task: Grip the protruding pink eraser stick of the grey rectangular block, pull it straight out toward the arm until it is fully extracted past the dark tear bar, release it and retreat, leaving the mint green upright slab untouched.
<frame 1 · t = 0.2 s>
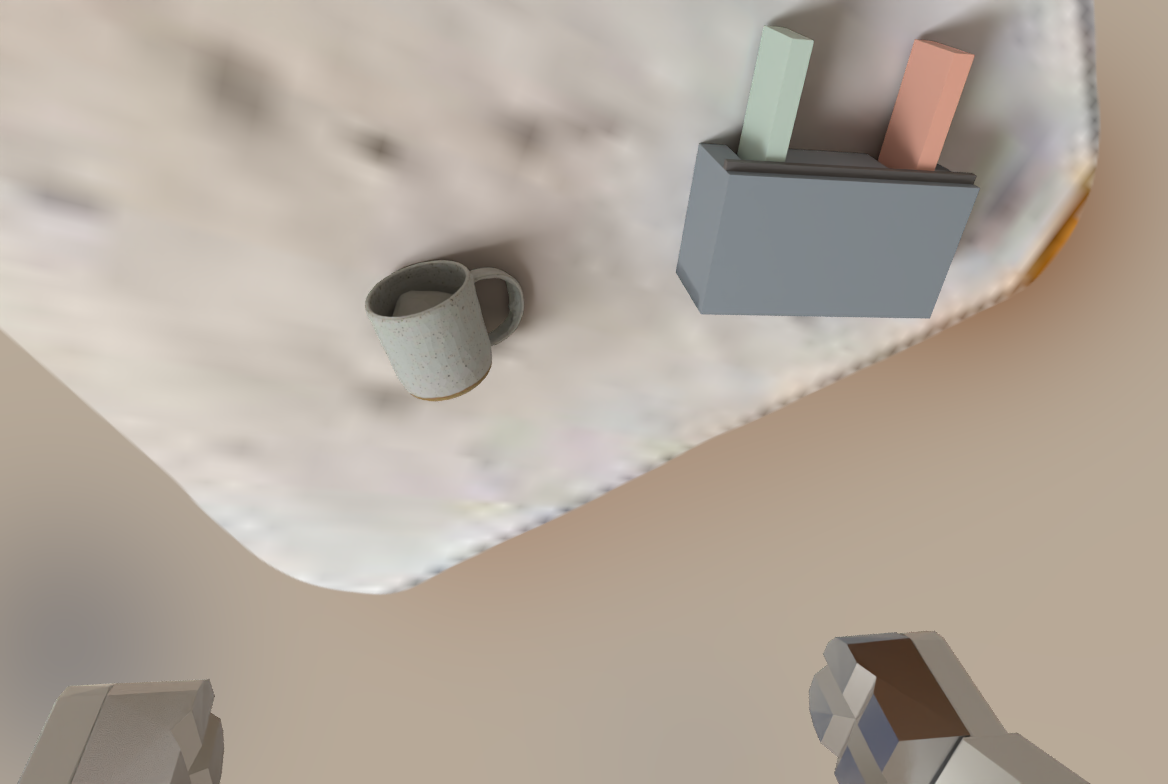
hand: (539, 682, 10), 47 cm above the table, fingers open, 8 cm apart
mint green upright slab: (763, 144, 53), point 3 cm above the table, slide at 0.0 cm
grey rectangular block: (799, 215, 60), on the table
pink eraser stick: (908, 153, 55), point 3 cm above the table, slide at 0.0 cm
ceramic mug: (450, 300, 59), on the table
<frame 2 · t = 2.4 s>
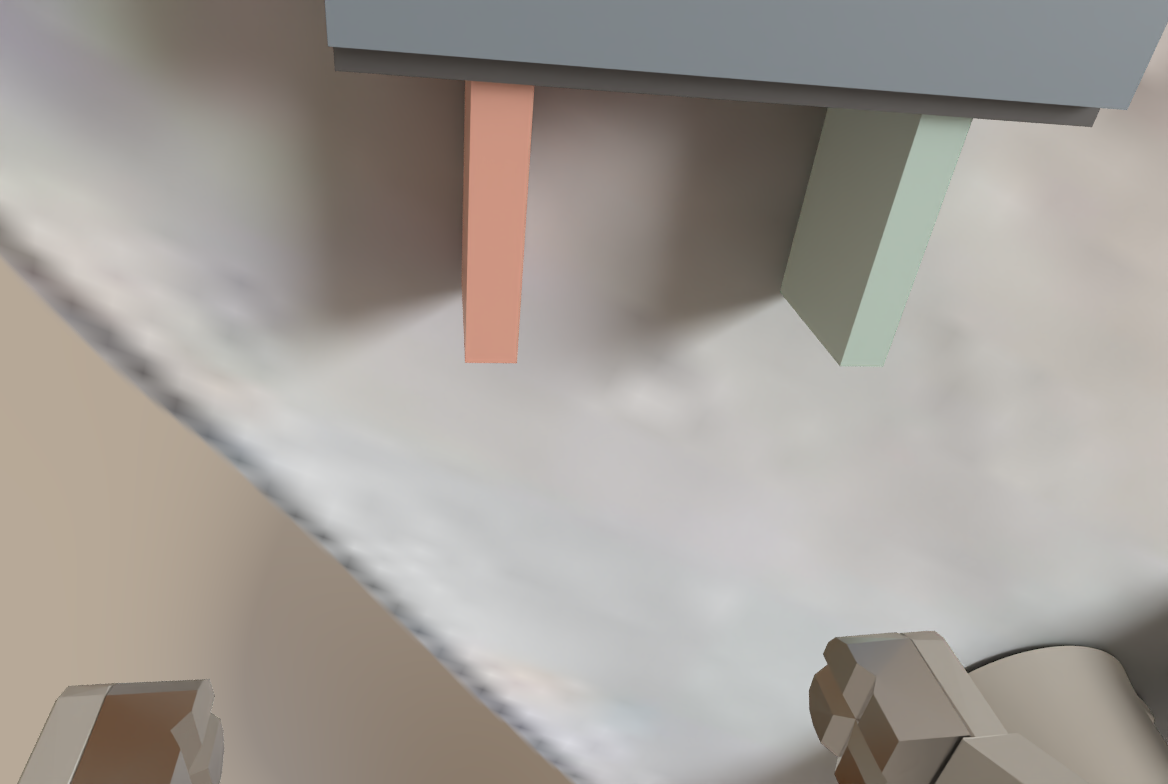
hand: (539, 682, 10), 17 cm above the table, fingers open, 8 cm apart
mint green upright slab: (895, 102, 21), point 3 cm above the table, slide at 0.0 cm
pink eraser stick: (496, 72, 19), point 3 cm above the table, slide at 0.0 cm
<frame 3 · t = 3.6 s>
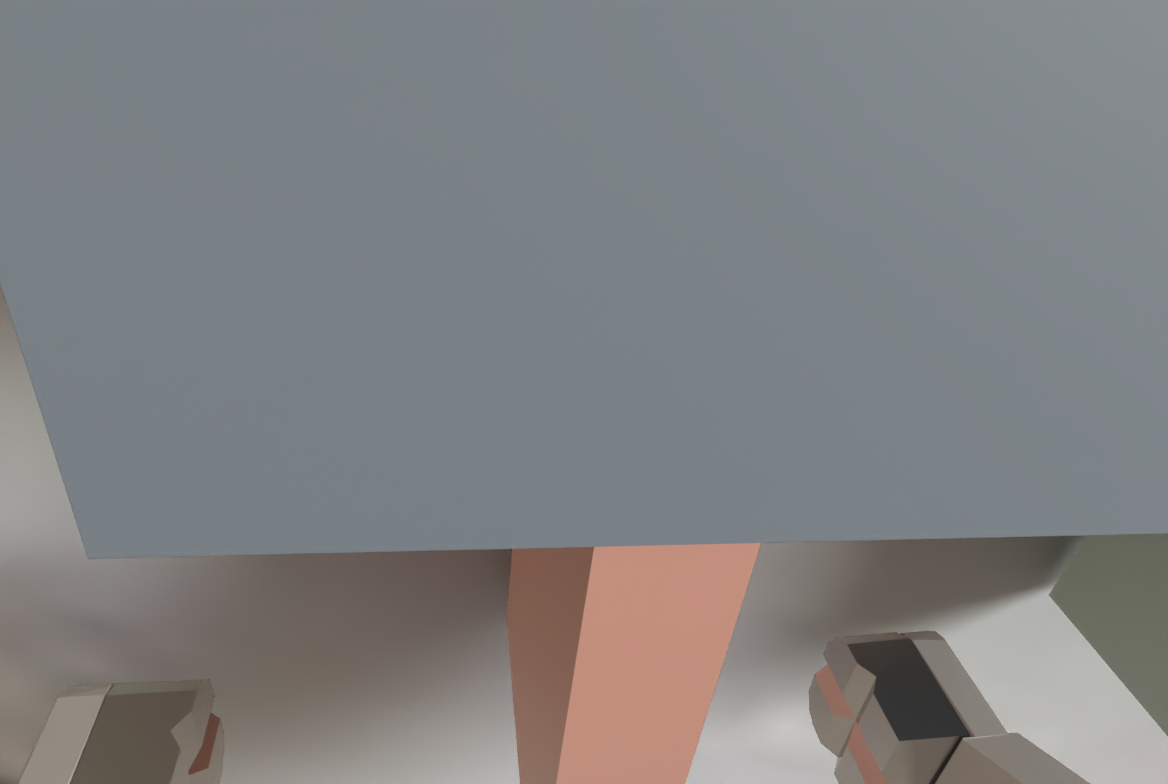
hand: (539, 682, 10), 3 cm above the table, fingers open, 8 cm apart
pink eraser stick: (627, 341, 8), point 3 cm above the table, slide at 0.0 cm
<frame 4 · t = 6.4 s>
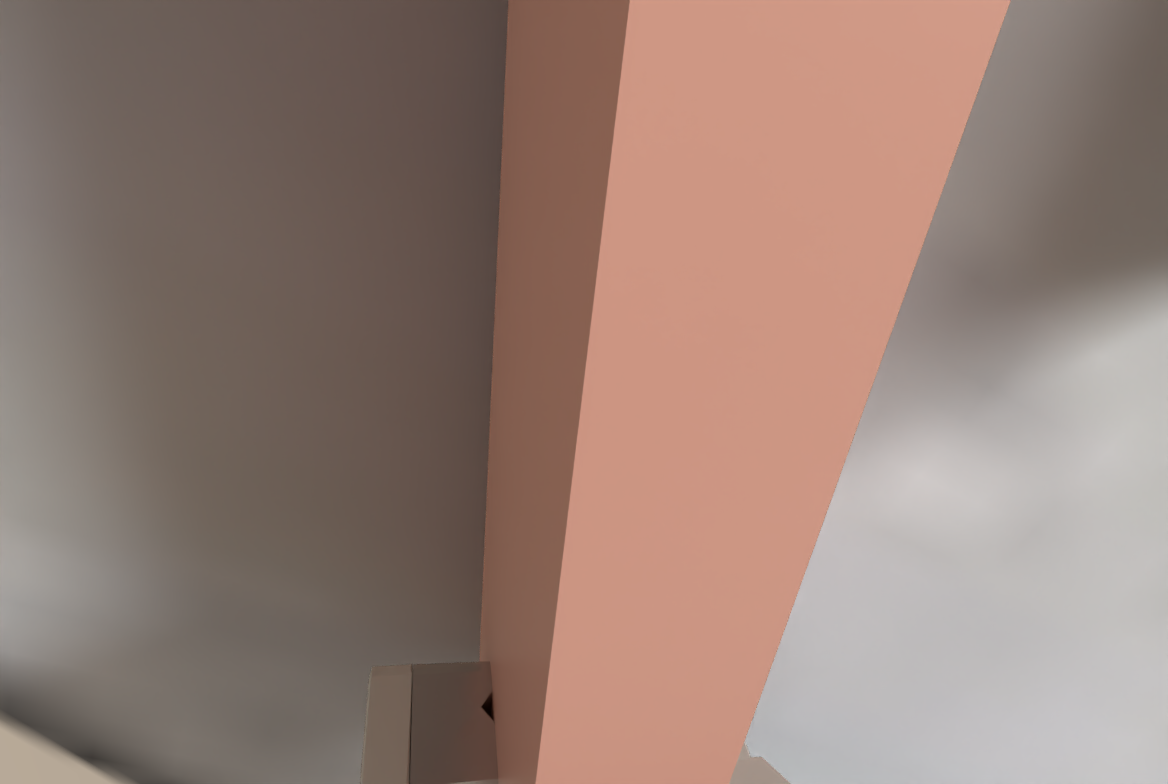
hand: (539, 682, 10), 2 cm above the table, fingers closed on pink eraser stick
pink eraser stick: (595, 421, 7), point 3 cm above the table, slide at 8.5 cm, touching gripper
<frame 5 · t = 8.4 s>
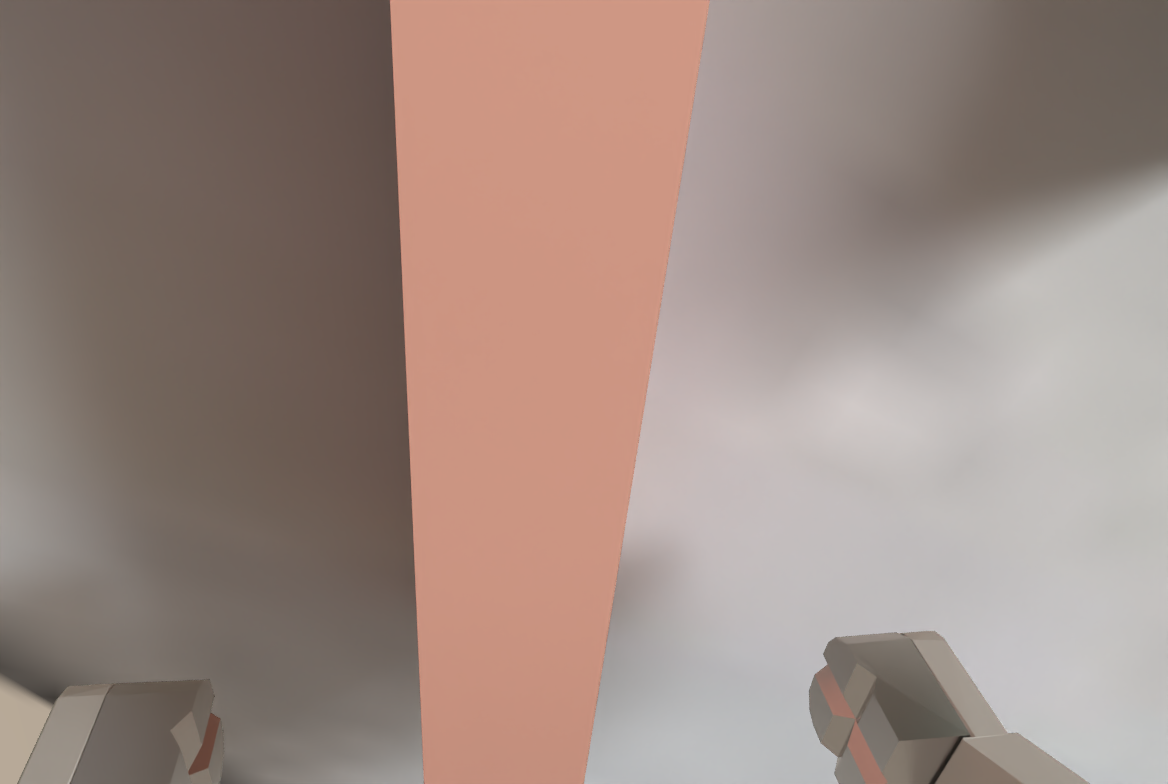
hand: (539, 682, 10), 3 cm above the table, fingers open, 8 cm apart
pink eraser stick: (491, 370, 7), point 3 cm above the table, slide at 9.1 cm
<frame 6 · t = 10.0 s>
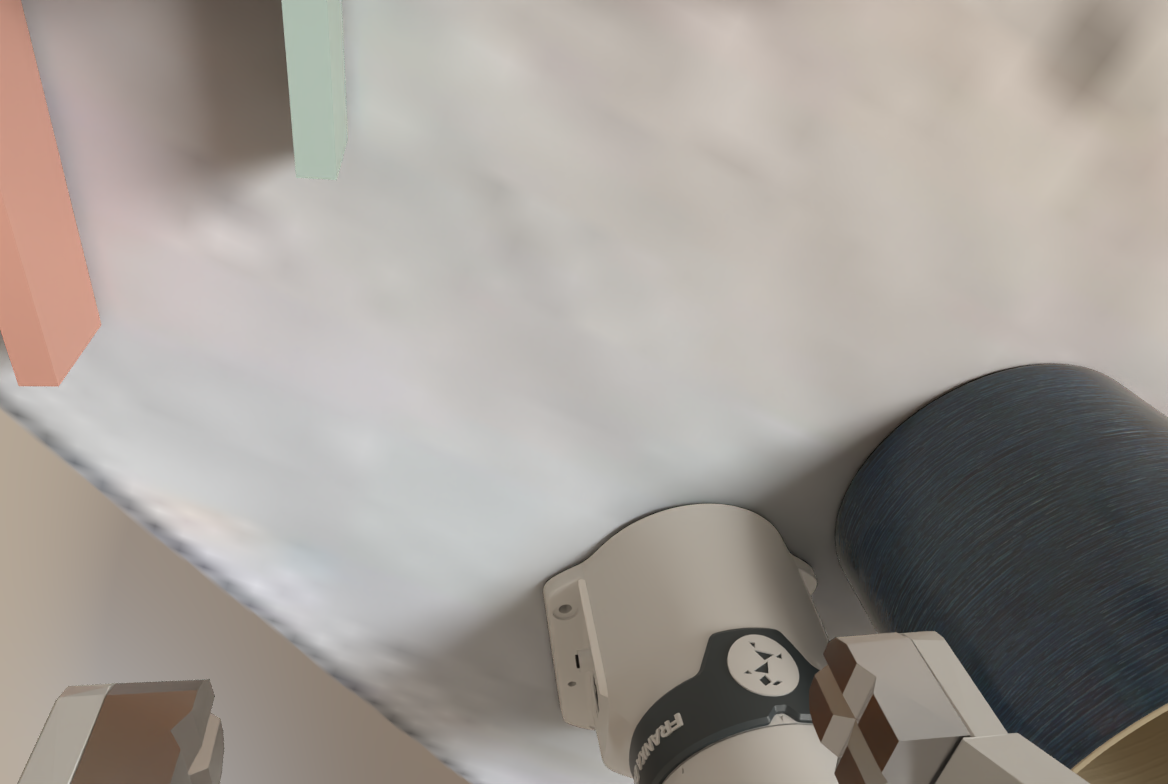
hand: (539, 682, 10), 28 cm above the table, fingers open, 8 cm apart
planter: (981, 492, 53), on the table
pink eraser stick: (16, 191, 29), point 3 cm above the table, slide at 9.1 cm
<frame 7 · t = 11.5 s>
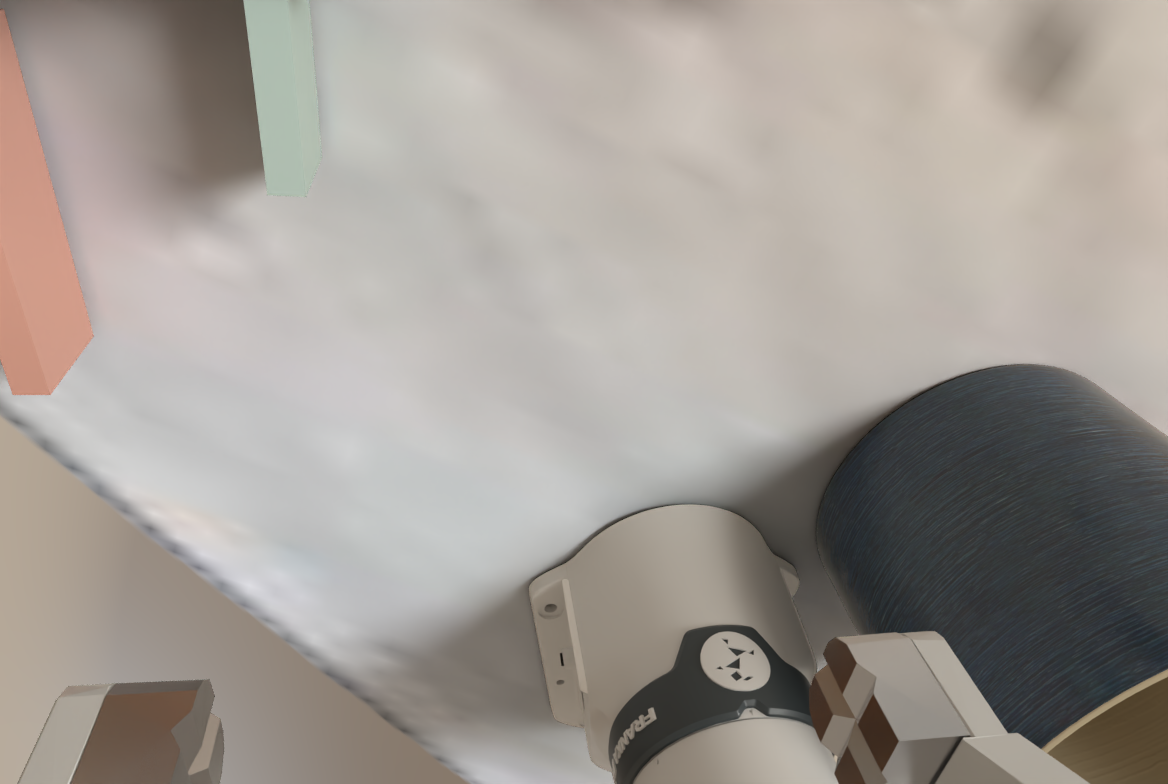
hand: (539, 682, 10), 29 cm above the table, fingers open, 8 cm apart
planter: (961, 492, 53), on the table
pink eraser stick: (8, 212, 31), point 3 cm above the table, slide at 9.1 cm
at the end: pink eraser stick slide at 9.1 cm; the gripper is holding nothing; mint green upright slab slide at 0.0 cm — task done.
